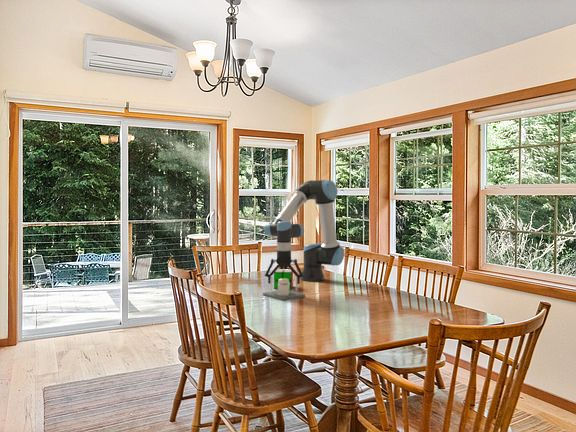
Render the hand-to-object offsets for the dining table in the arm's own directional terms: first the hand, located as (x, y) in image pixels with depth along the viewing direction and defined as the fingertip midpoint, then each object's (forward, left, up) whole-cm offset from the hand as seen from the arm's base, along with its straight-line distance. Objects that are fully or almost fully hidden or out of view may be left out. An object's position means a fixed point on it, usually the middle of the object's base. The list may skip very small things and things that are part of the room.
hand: (283, 289), depth 245 cm
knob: (0, 0, -2) cm, 2 cm away
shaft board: (0, 0, -3) cm, 3 cm away
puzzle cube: (-15, -18, -4) cm, 24 cm away
